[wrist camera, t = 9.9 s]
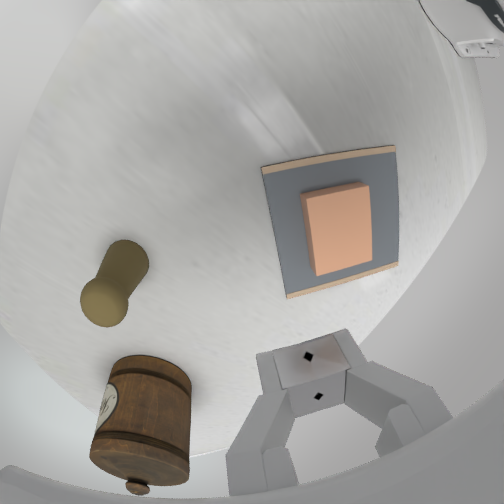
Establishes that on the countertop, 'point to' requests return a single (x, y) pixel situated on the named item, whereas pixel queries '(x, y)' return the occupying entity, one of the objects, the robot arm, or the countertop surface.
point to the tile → (338, 227)
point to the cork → (114, 283)
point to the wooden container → (144, 424)
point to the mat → (325, 176)
